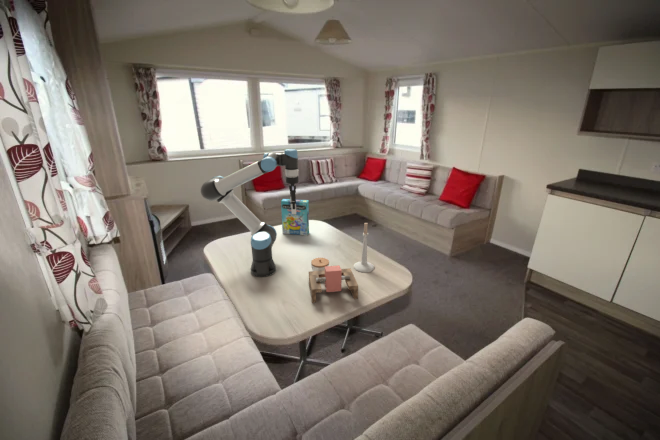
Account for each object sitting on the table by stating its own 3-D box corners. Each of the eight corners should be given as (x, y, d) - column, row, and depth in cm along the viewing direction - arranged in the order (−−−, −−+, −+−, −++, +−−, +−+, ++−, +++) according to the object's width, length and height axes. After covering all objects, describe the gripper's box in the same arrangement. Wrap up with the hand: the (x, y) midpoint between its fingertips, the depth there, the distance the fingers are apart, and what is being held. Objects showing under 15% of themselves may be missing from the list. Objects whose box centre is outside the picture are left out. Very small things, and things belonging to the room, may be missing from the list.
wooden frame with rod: (312, 302, 156) (311, 286, 153) (308, 283, 173) (308, 268, 170) (357, 298, 160) (358, 282, 157) (350, 280, 177) (350, 265, 173)
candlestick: (378, 268, 189) (381, 224, 179) (361, 274, 183) (363, 228, 173) (365, 260, 200) (368, 217, 189) (349, 265, 194) (351, 221, 183)
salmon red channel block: (326, 292, 160) (326, 271, 156) (324, 286, 166) (324, 266, 162) (341, 290, 161) (341, 270, 158) (339, 285, 167) (339, 265, 163)
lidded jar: (316, 279, 178) (315, 265, 174) (308, 271, 187) (308, 257, 183) (332, 274, 182) (332, 261, 179) (324, 267, 191) (324, 253, 188)
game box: (282, 233, 241) (280, 201, 231) (284, 230, 246) (283, 198, 237) (307, 235, 237) (306, 202, 228) (309, 232, 243) (308, 200, 234)
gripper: (299, 180, 168) (301, 216, 176) (297, 171, 191) (298, 203, 199) (286, 181, 167) (287, 217, 175) (285, 172, 190) (286, 204, 198)
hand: (293, 210), depth 187 cm, fingers open, 13 cm apart
